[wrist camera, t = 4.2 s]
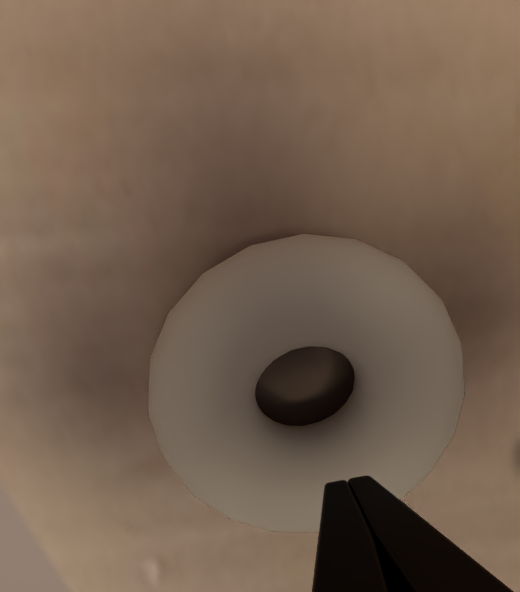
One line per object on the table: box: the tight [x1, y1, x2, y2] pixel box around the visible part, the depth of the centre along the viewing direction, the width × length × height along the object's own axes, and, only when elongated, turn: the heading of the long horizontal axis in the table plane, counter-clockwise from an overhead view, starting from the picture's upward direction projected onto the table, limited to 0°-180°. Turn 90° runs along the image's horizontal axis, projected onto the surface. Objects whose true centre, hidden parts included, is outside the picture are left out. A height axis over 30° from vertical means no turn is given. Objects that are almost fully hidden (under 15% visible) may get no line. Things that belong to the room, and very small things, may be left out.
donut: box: [148, 234, 465, 533], centre depth 13 cm, size 10×3×10 cm
